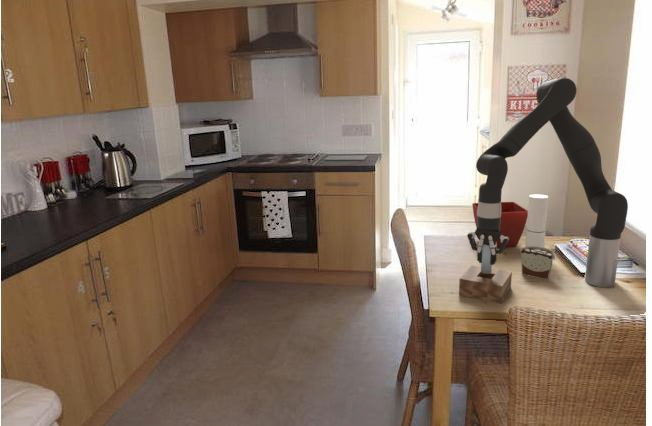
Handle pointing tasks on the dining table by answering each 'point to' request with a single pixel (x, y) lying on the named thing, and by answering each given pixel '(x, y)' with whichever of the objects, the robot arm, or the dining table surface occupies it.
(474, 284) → the socket block
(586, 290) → the dining table surface
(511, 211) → the plant pot
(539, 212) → the cylindrical container
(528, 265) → the food container
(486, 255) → the dowel
